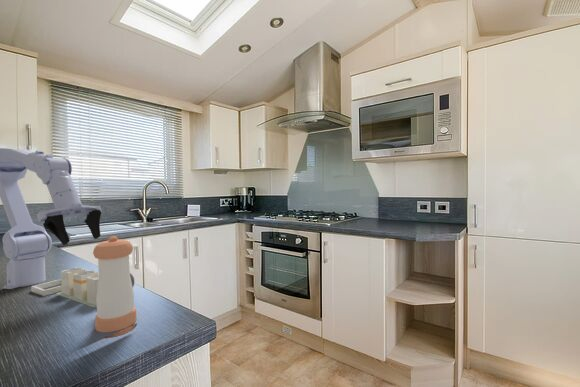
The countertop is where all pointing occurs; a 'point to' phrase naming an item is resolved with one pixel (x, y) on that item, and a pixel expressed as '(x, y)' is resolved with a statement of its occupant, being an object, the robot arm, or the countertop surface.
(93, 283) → the block
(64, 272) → the left fuse
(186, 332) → the countertop surface
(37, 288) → the tray
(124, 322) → the salt shaker
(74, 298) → the fuse block
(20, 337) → the countertop surface
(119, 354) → the countertop surface
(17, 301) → the countertop surface
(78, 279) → the block
